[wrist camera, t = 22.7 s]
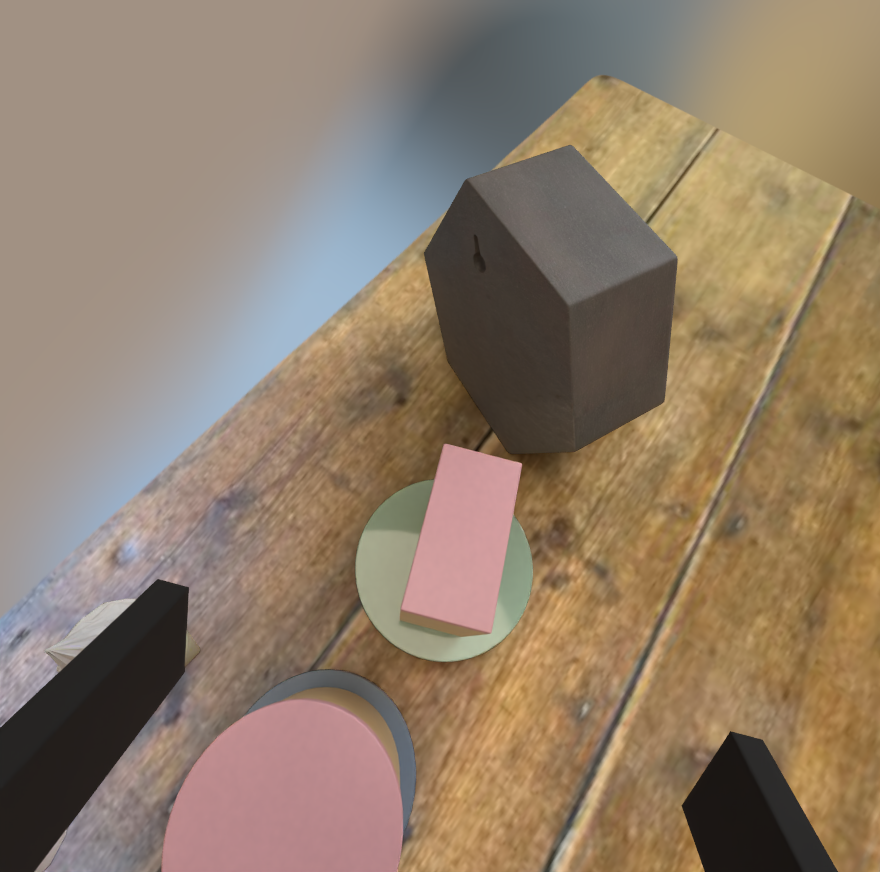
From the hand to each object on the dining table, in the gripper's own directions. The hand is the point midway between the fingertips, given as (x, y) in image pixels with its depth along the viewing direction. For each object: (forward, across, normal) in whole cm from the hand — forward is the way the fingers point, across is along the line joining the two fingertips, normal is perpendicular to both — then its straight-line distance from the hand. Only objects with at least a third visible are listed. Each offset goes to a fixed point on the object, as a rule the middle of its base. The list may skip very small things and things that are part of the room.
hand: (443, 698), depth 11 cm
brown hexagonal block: (+33, +3, 0) cm, 33 cm away
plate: (+21, +1, -12) cm, 24 cm away
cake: (+11, -4, -22) cm, 25 cm away
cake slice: (+20, +1, -11) cm, 23 cm away
